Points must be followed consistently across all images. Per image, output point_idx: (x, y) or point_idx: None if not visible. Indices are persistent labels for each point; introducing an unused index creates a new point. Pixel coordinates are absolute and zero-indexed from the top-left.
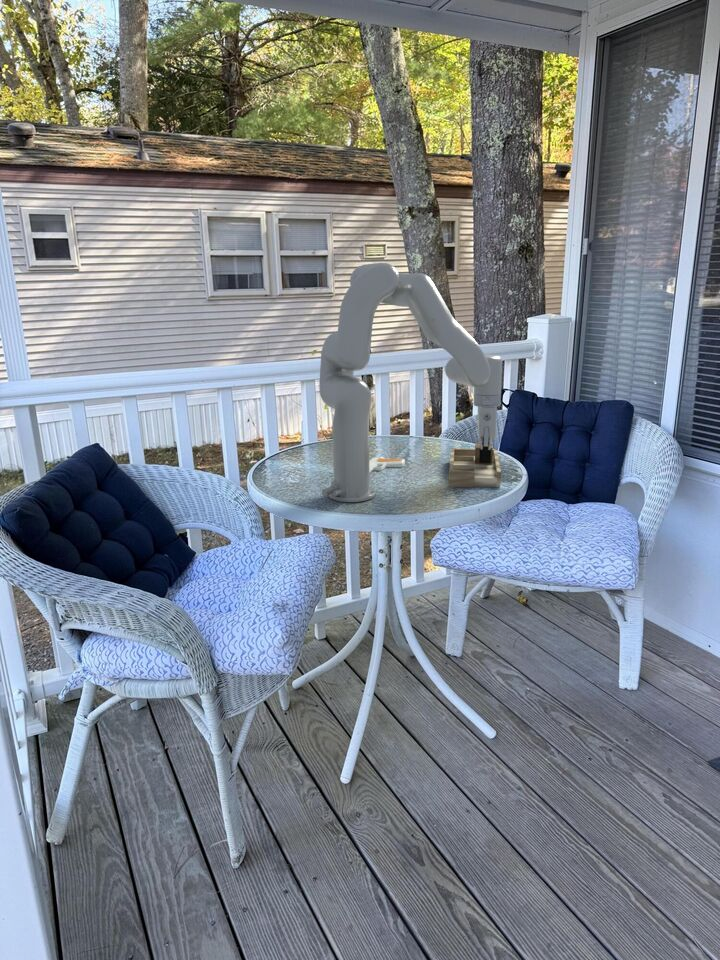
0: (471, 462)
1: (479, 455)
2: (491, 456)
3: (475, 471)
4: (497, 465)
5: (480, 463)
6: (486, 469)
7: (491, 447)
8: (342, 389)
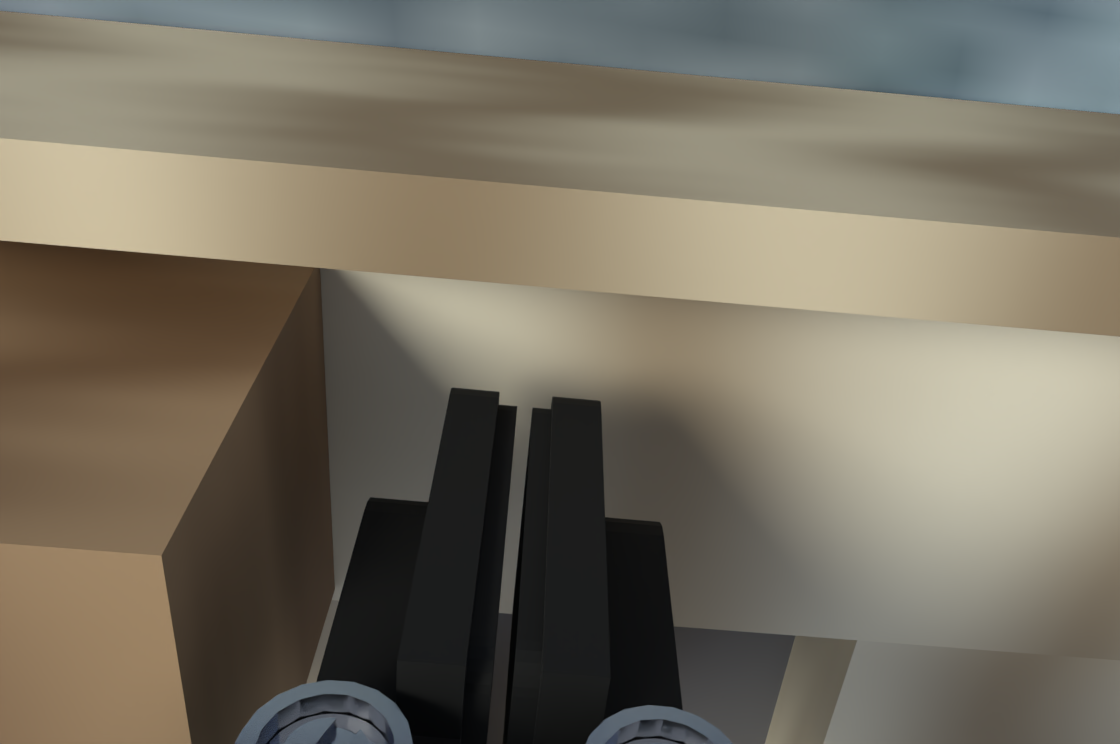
0: None
1: (281, 675)
2: (260, 395)
3: (888, 626)
4: (1057, 296)
5: (324, 507)
6: (766, 428)
7: (87, 589)
8: None
